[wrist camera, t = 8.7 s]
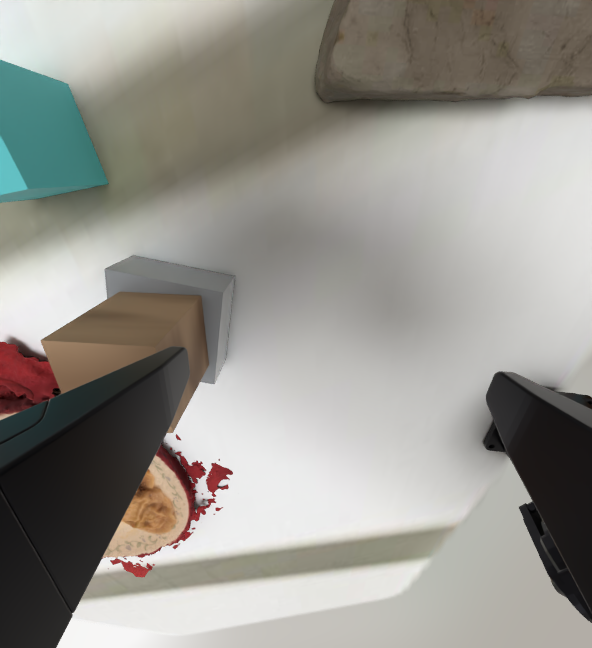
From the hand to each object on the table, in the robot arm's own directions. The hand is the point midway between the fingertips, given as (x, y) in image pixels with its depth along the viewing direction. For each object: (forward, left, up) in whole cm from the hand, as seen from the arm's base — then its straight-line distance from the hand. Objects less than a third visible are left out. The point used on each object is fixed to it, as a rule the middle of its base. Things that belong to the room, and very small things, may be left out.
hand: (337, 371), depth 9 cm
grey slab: (-5, +10, -13) cm, 17 cm away
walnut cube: (-5, +10, -10) cm, 14 cm away
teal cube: (+5, +17, -13) cm, 22 cm away
